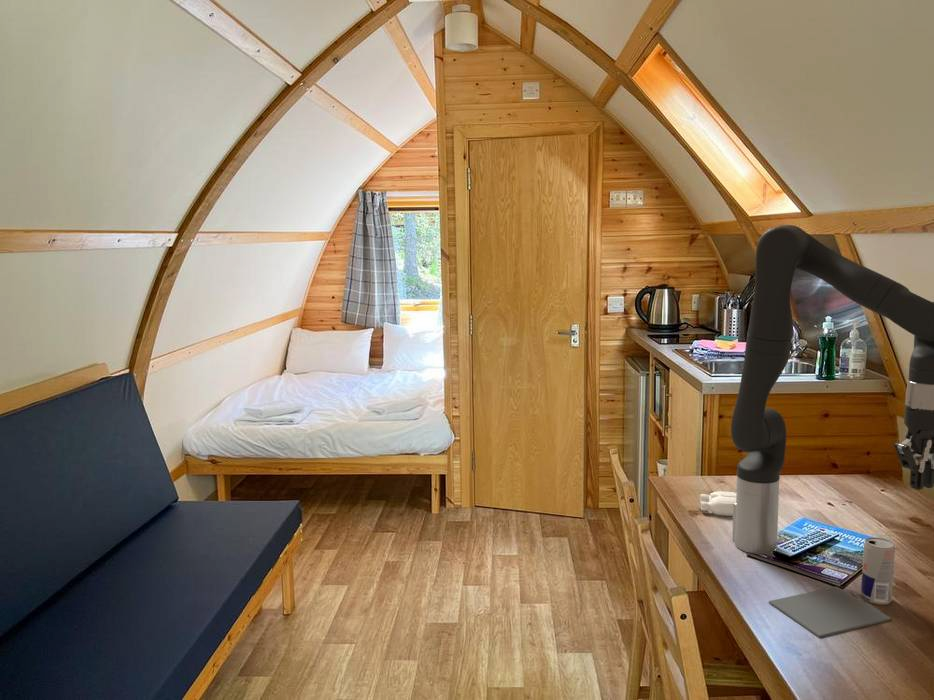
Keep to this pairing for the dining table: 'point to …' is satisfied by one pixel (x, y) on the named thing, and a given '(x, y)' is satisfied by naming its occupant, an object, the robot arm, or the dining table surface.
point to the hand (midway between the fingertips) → (921, 487)
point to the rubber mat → (829, 611)
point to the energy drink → (878, 570)
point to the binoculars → (719, 503)
